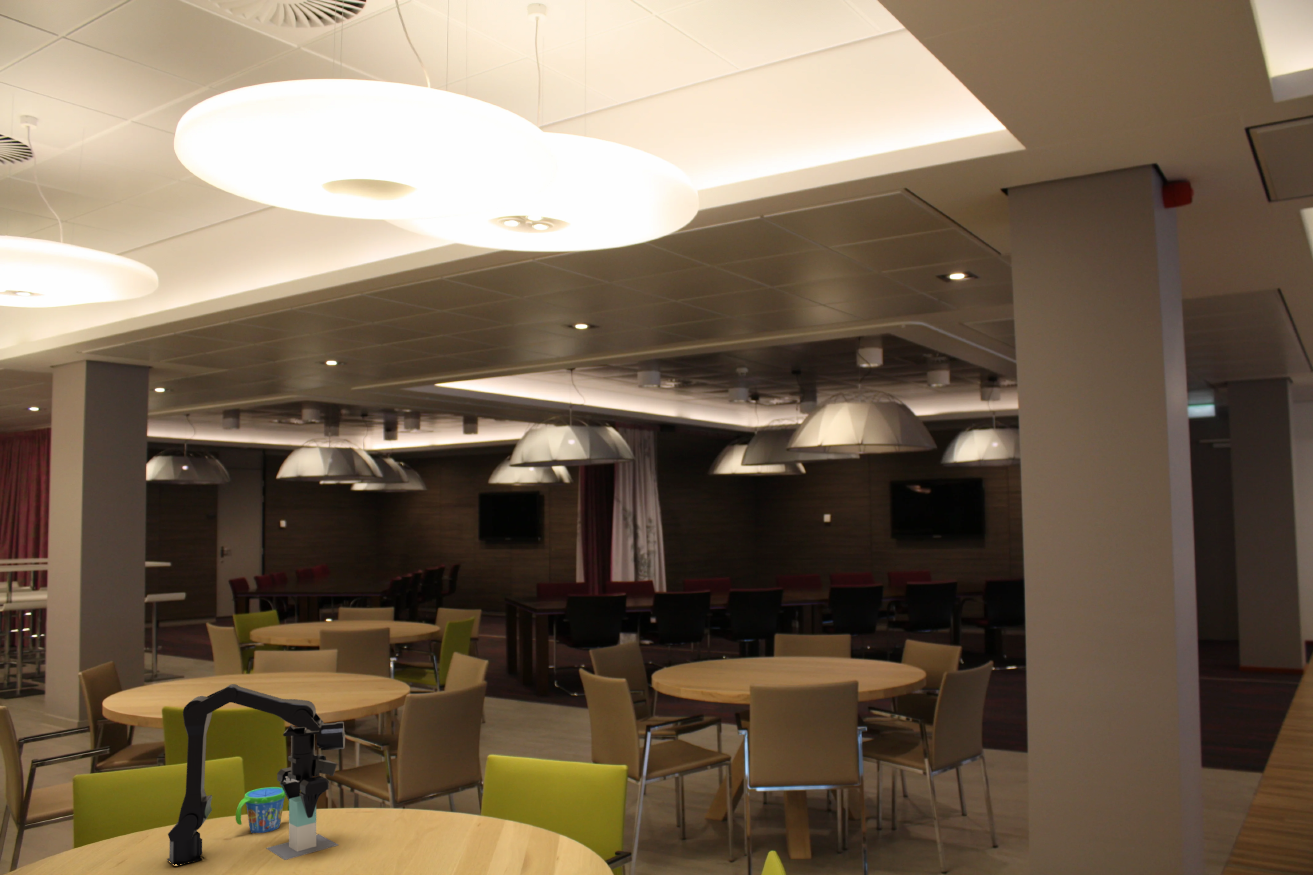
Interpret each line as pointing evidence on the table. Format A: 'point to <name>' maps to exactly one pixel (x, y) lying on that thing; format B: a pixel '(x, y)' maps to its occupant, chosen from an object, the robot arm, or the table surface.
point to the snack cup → (263, 809)
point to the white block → (302, 836)
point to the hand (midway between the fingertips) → (302, 813)
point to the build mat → (289, 853)
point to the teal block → (299, 813)
